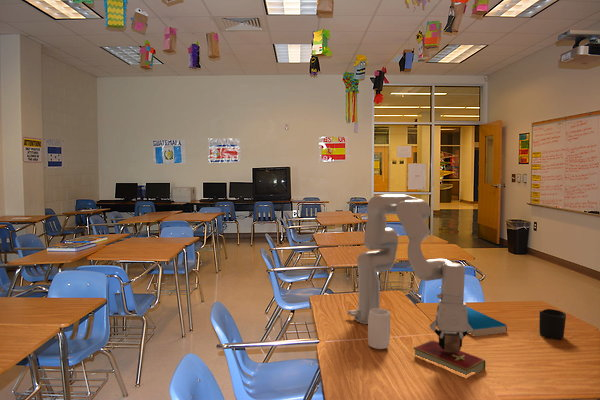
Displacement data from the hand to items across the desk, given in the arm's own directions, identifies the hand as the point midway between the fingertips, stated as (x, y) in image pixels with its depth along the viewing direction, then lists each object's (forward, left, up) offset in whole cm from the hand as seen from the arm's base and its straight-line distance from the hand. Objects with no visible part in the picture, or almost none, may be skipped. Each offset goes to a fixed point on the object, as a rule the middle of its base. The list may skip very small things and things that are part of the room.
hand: (450, 347), depth 148 cm
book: (+20, +39, -6) cm, 45 cm away
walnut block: (0, 0, -1) cm, 1 cm away
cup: (-24, +10, -6) cm, 26 cm away
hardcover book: (-1, -1, -6) cm, 6 cm away
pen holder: (+50, +29, -6) cm, 58 cm away
